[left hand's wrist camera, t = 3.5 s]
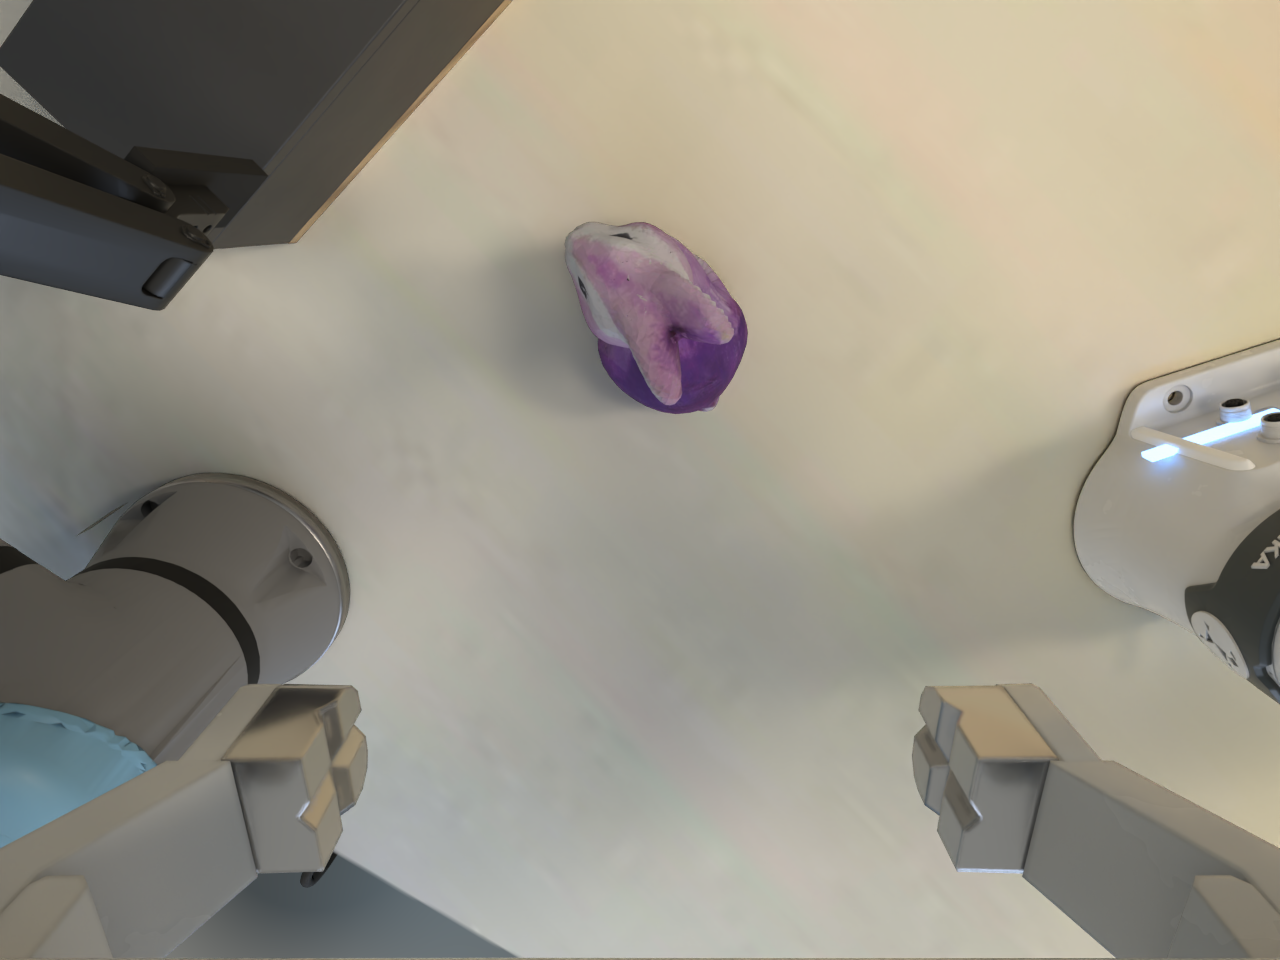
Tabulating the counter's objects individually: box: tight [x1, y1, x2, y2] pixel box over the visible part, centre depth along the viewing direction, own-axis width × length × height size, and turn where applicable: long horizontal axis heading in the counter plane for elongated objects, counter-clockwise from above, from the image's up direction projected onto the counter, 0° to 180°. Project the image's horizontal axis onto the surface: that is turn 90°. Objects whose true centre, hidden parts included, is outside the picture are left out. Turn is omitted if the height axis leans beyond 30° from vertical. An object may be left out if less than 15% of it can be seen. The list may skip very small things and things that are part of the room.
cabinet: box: [0, 0, 512, 249], centre depth 34 cm, size 20×10×10 cm, turn 132°
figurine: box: [565, 222, 748, 414], centre depth 36 cm, size 9×10×15 cm
